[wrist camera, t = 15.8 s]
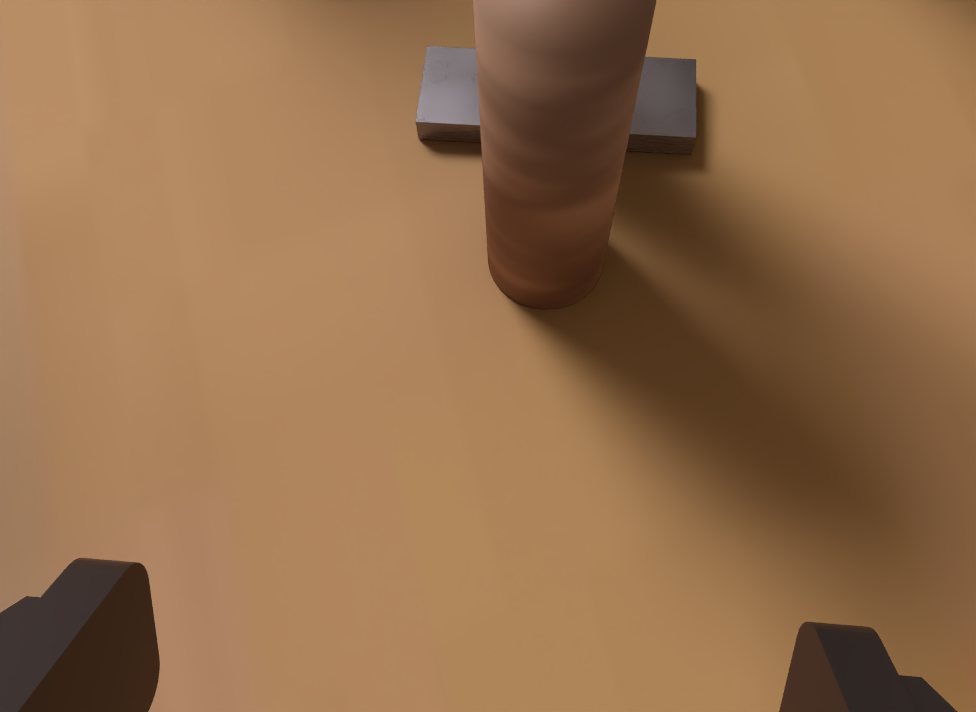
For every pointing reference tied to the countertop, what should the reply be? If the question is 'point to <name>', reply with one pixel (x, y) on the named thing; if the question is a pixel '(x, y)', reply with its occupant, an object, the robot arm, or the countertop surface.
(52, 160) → the countertop surface
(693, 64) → the keeper bracket
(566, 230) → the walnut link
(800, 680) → the robot arm
